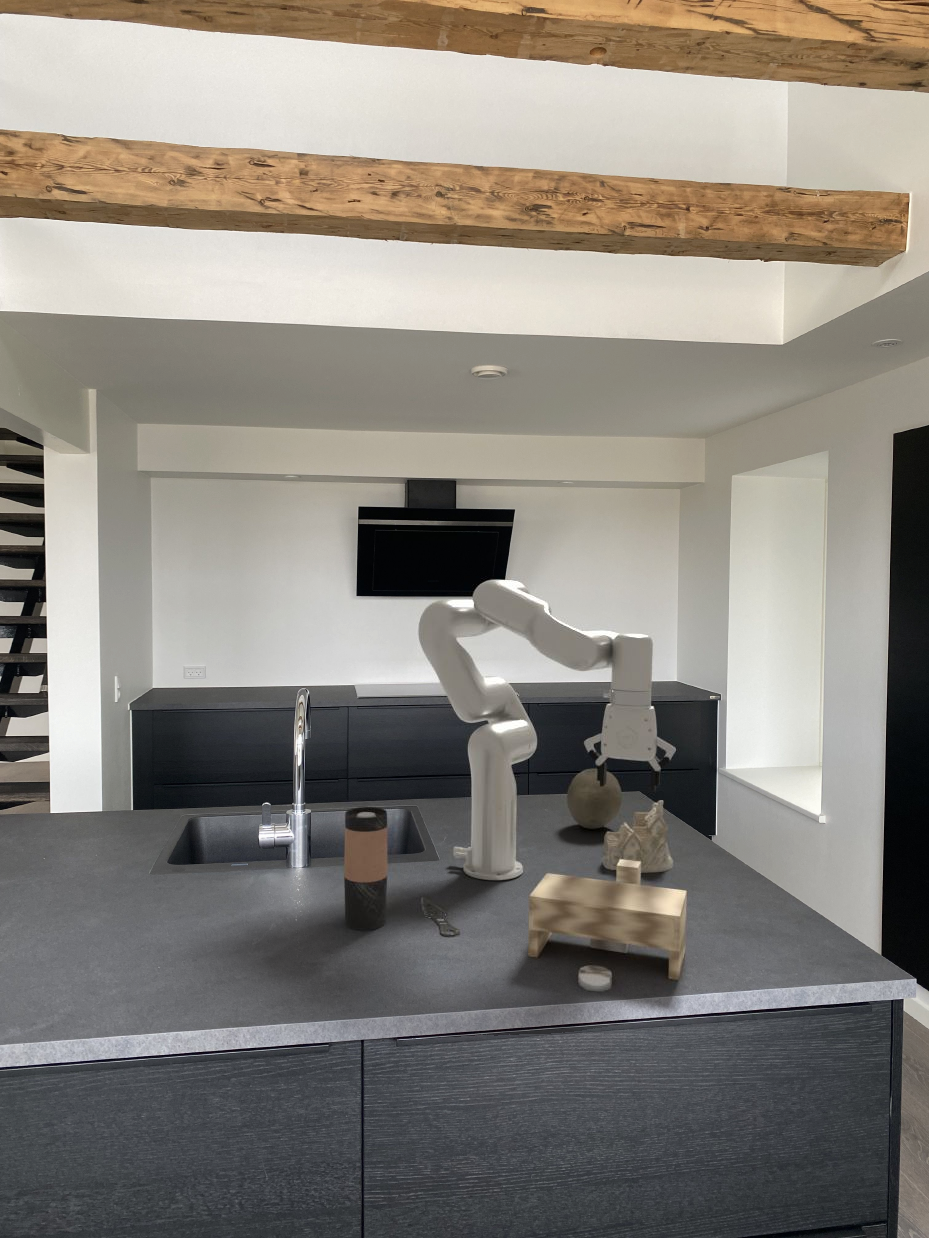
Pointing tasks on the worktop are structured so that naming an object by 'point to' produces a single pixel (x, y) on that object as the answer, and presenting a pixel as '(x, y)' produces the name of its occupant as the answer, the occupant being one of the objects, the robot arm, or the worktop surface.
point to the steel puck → (595, 978)
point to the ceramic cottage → (640, 842)
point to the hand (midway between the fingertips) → (627, 787)
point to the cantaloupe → (593, 799)
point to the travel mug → (365, 868)
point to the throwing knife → (438, 917)
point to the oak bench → (609, 914)
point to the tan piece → (625, 874)
